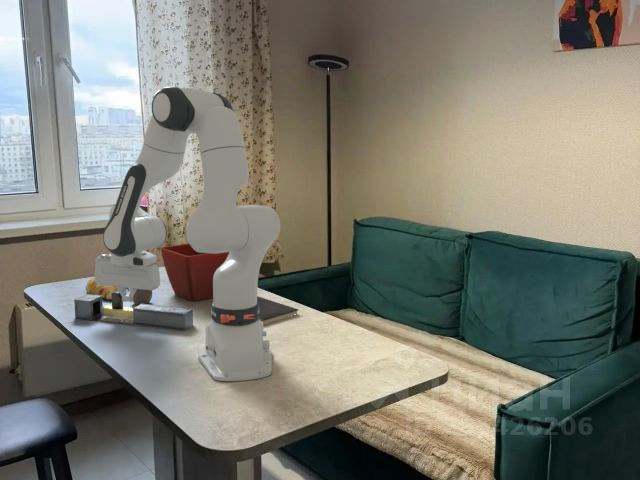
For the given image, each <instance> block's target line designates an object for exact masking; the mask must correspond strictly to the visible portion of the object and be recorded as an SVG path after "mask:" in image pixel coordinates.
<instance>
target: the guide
mask: <svg viewBox="0 0 640 480" xmlns="http://www.w3.org/2000/svg"><path fill="white" fill-rule="evenodd" d="M73 300H74V301H73V302H74V318H75V319H76V320H77V319H78V320H84V321H85V320H87V321H93V320H94V321H95V322H101V323H102V322H104V323H111V324H112V323H113V324H121V325H131V326H137V327H138V326H139V327H145V328H146V327H148V328H154V329H155V328H156V329H164V330H171V331H172V330H173V331H180V332H184V331H187V330H188V329H190V328H191V327H193V325H194V309H193V308H188V307H187V308H185V307H178V306H168V305H167V306H166V305H160V304H159V305H158V304H149V303H148V304H140V305H136V306H135V307H132V308H133V319H125V318H116V317H107V316H102V307H104V306H103V298H102V296H100V295H90V294H88V293H87V294H83V295H81V296H79V297H77V298H74V299H73ZM94 321H93V322H94Z"/></svg>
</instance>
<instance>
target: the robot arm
mask: <svg viewBox="0 0 640 480" xmlns="http://www.w3.org/2000/svg"><path fill="white" fill-rule="evenodd" d="M151 112H152V113H151V116H150V119H149V121H148V124H147V127H146V130H145V135H144V137H143V138H144V139H143V144H142V147H141V150H140V151H139V155H138V156H137V158H136V160H135V162H134V163H133V164H132V165H131V166H130V167H129V168H128V170H127V172H126V174H125V177H124V179H123V182H122V185H121V188H120V190H119V193H118V197H117V200H116V202H115V204H113V205H111V207H110V211H109V219H108V222H107V224H105V228H104V229H103V235H102V239H103V244H104V246H105V248H106V249H107V250H108V251H109V254H104V253H100V254H99V255H97V256H96V257H95V259H94V261H95V263H94V264H95V269H94V277H95V282H96V284H97V285H106V286H115V287H117V289H118V291H119V293H120V294H121V296H122V301H123V302H128V303H133V300H134V299H133V295H134V294H135V292H136V290H137V289H144V290H152V291H154V290H157V289H158V288H160V286H161V275H160V274H161V273H160V268H159V266H158V264H157V262H158V256H157V255H156V254H153V253H152V252H149V251H148V250H152V249H156V248H159V247H161V246H163V245H164V244H165V242H166V241H167V237H168V235H167V234H168V231H167V230H168V229H167V226H166V223H165V222H164V220H163V219H162V218H160V217H159V216H156V215H153V214H151V213H149V212H147V211H145V210H144V209H143V208H142V207H141V203H142V200H143V198H144V196H145V195H146V193H147V192H148V191H150V190H151V189H152V188H154V187H155V186H157V185H159V184H160V183H163V182H165V181H167V180H169V179H171V178H173V177H174V176H176V174H177V173H178V172H179V171H180V168H181V167H182V165H183V161H184V158H185V153H186V149H187V143H188V138H189V136H190V135H191V134H195V135H196V136H197V139H198V146H199V152H200V161H201V165H202V175H203V193H202V196H201V200H200V202H199V205H198V207H197V209H196V210H195V211H194V212H193V213H192V215H191V216H190V217H189V218H188V221H187V223H186V227H185V235H186V240H187V242H188V244H190V245H191V247H192V248H193V249H194V250H195V251H197V252H200V253H211V254H218V253H224V252H229V255H228V257H227V259H226V261H225V262H224V263H223V264H222V265H221V266H220V267H219V268H218V269H217V270H216V271H215V273H214V276H213V297H212V298H213V299H212V301H213V302H212V304H211V308H210V312H211V321H210V322H209V323H208V324H207V325H206V326H205V346H204V347H205V351H202V352H200V353H199V354H198V358H197V359H198V361H199V362H200V363H201V365H202V366H203V367H204V368H205V370H206V371H207V373H208V375H210V377H211V378H212V379H213V380H215V381H220V382H221V381H223V382H238V381H239V382H240V381H250V380H256V379H257V380H258V379H262V378H265V377H268V376H271V375H272V373H273V372H272V371H273V370H272V369H273V368H272V367H273V366H272V364H273V363H272V362H273V361H272V357H273V356H272V354H273V353H272V349H271V348H270V340H268V339H265V340H264V337H267V330H264V325H263V322H262V321H260V320H259V304H258V302H257V296H258V284H259V283H258V282H259V274H260V268H261V265H262V262H263V259H264V257H265V255H266V253H267V252H268V249H270V247H271V245H272V244H273V243H274V242H275V241H276V240H277V239H278V237H279V235H280V232H281V220H280V217H279V214H278V213H277V212H276V210H275V209H274V208H272V207H270V206H265V205H259V204H250V205H249V204H248V205H237V197H238V193H239V191H241V189H243V188H245V186H246V185H247V184H248V182H249V179H250V172H249V166H248V159H247V153H246V146H245V142H244V136H243V133H242V128H241V126H240V123H239V119H238V117H237V115H236V113H235V111H234V110H233V105H232V104H231V102H230V100H229V99H228V98H227V97H225V96H224V95H222V94H219V93H217V92H209V91H205V90H201V89H198V88H194V87H178V86H165V87H162V88H160V89H158V90H157V91H156V92H155V94H154V95H153V98H152V101H151ZM126 289H128V292H129V294H127V291H126Z"/></svg>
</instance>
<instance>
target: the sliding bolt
mask: <svg viewBox="0 0 640 480" xmlns="http://www.w3.org/2000/svg"><path fill="white" fill-rule="evenodd" d="M111 296H112V299H111V305H109V304H107V305H105V306H103V307H102V316H107V317H116V318H125V319H133V308H134V307H128V306H127V307H126V306H124V301H122V296H121V294H120V293H119V291H115V292H112V293H111Z"/></svg>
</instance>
